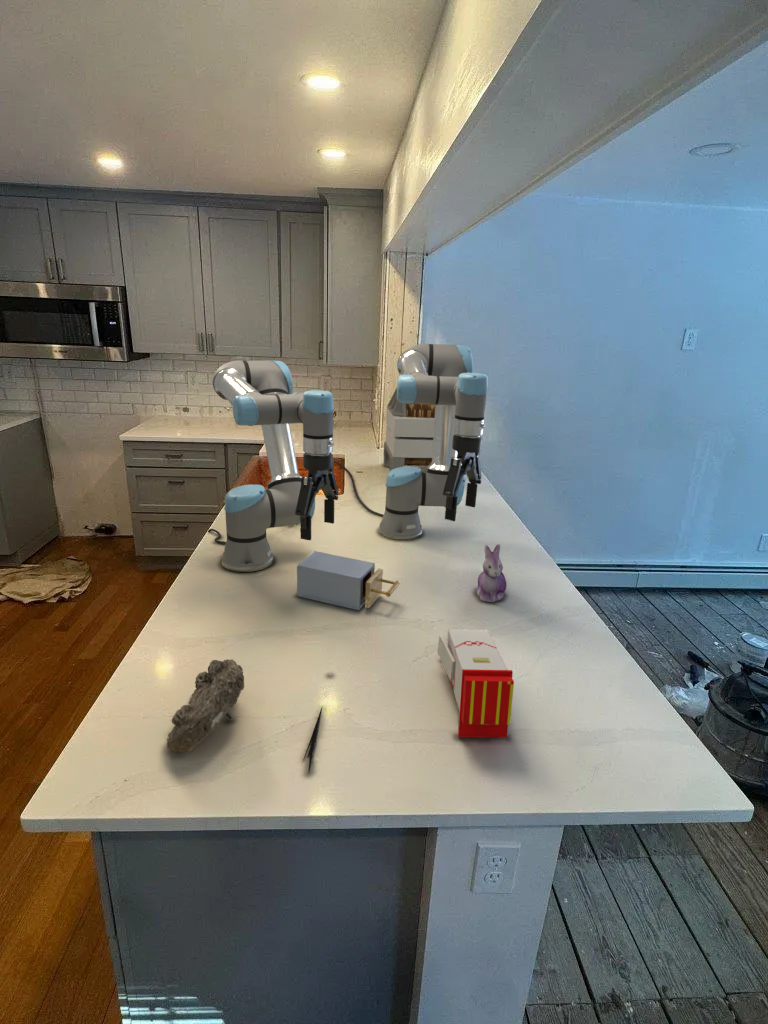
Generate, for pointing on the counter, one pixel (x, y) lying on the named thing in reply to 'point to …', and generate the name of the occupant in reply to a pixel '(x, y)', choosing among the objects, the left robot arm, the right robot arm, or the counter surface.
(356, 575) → the cabinet
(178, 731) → the fossil
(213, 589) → the counter surface
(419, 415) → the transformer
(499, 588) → the figurine
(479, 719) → the toy
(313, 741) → the feather
